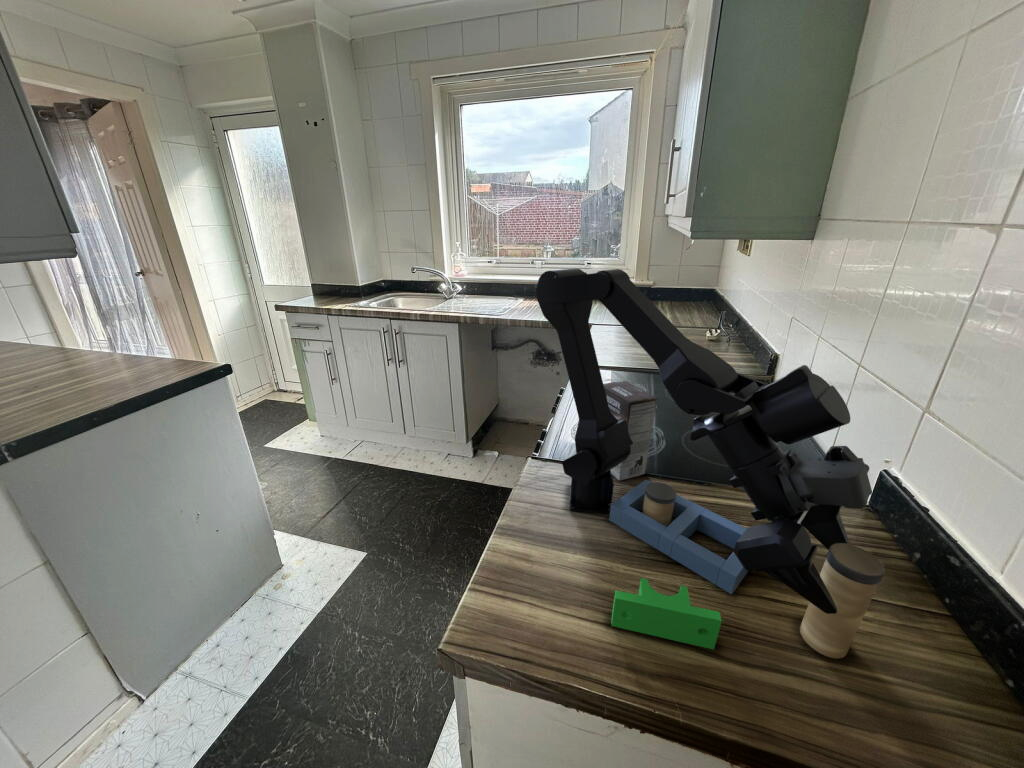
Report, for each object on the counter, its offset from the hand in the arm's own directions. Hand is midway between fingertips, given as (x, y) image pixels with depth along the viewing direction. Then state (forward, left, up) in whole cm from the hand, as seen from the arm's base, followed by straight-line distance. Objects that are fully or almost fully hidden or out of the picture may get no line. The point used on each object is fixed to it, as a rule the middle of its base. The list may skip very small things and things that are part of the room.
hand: (842, 587), depth 43 cm
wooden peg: (0, 0, -8) cm, 8 cm away
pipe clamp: (-18, -1, -8) cm, 20 cm away
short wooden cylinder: (-15, +17, -8) cm, 24 cm away
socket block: (-12, +15, -8) cm, 21 cm away
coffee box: (-20, +33, -8) cm, 39 cm away
